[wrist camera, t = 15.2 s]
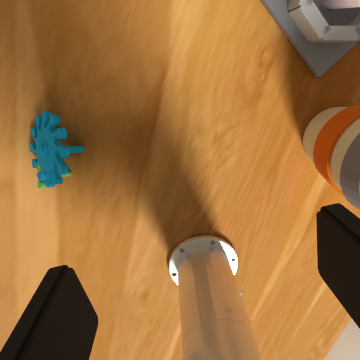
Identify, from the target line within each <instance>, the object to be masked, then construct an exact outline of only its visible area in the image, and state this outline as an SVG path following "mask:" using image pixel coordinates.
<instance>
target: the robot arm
mask: <svg viewBox="0 0 360 360" xmlns="http://www.w3.org/2000/svg"><path fill="white" fill-rule="evenodd" d="M317 253H318V270H319V273H320V275H321V277H322V279H323V280H324V281H325V283H326V284H327V285H328V287H329V288H330V289H331V291H332V292H333V293H334V295H335V296H336V297H337V299H338V300H339V301H340V303H341V304H342V305H343V307H344V308H345V310H346V311H347V312H348V314H349V315H350V316H351V318H352V319H353V320H354V322H355V323H356V324H357V325H358V327H359V328H360V219H359V218H358V217H357V216H355V215H354V214H353V213H352V212H350V211H349V210H348V209H346V208H345V207H344V206H343V205H341V204H339V203H336V204H332V205H328V206H323V207H321V209H320V211H319V212H317ZM237 268H238V258H237V255H236V253H235V250H234V249H233V247H232V246H231V245H230V244H229V243H228V242H227V241H225V240H223V239H222V238H219V237H216V236H211V235H200V236H195V237H192V238H189V239H187V240H185V241H183V242H182V243H180V244H179V245H178V246H177V247H176V248H175V249H174V250H173V252H172V254H171V256H170V259H169V273H170V276H171V278H172V279H173V281H174V282H175V283H176V284H177V285H178V286H179V302H180V319H181V336H182V353H183V360H262V358H261V355H260V352H259V349H258V346H257V343H256V340H255V337H254V334H253V331H252V328H251V325H250V322H249V319H248V316H247V313H246V310H245V306H244V303H243V300H242V297H241V295H242V293H243V291H242V289H240V288H239V287H238V285H237V282H236V279H235V276H234V275H235V274H236V271H237ZM97 327H98V317H97V314H96V312H95V310H94V308H93V306H92V304H91V302H90V300H89V299H88V297H87V295H86V293H85V291H84V289H83V287H82V285H81V283H80V281H79V279H78V277H77V275H76V273H75V271H74V270H73V268H69V267H68V266H67V265H62V266H58V267H53V268H50V269H49V270H48V271H47V273H46V275H45V276H44V278H43V280H42V282H41V283H40V285H39V287H38V288H37V290H36V292H35V294H34V295H33V297H32V299H31V300H30V302H29V304H28V306H27V307H26V309H25V311H24V312H23V314H22V316H21V318H20V319H19V321H18V323H17V325H16V326H15V328H14V330H13V331H12V333H11V335H10V337H9V338H8V340H7V342H6V343H5V345H4V347H3V349H2V350H1V352H0V360H89V357H90V353H91V350H92V346H93V342H94V338H95V334H96V331H97Z"/></svg>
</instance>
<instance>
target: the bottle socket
mask: <svg viewBox="0 0 360 360" xmlns="http://www.w3.org/2000/svg"><path fill="white" fill-rule="evenodd" d="M260 1H261V2H262V4H263V5H264V6H265V8H266V9H267V11H268V12H269V13H270V15H271V16H272V18H273V19H274V20H275V22H276V23H277V24H278V26H279V27H280V29H281V30H282V31H283V33H284V34H285V35H286V37H287V38H288V40H289V41H290V42H291V44H292V45H293V47H294V48H295V49H296V51H297V52H298V53H299V55H300V56H301V58H302V59H303V60H304V62H305V63H306V64H307V66H308V67H309V69H310V70H311V71H312V73H313V74H314V75H315V77H321V76H322V75H323V74H324V73H325V72H326V71H327V70H328V69H329V68H331V67H332V66H333V65H334V64H335V63H336V62H337V61H338V60H339V59H340V58H342V57H343V56H344V55H345V54H346V53H347V52H348V51H349V50H350V49H351V48H352V47H354V46H355V45H356V44H357V43H358V42H359V41H360V7H355V8H342V9H329V8H327V7H326V6H325V5H324V4H323V2H322V0H260Z"/></svg>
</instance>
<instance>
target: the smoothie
mask: <svg viewBox="0 0 360 360" xmlns="http://www.w3.org/2000/svg"><path fill="white" fill-rule="evenodd" d="M322 2H323V4H324V5H325V6H326V7H327V8H329V9H342V8H355V7H360V0H322Z"/></svg>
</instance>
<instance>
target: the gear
mask: <svg viewBox="0 0 360 360" xmlns="http://www.w3.org/2000/svg"><path fill="white" fill-rule="evenodd" d="M35 123H36V127H32V128H31V131H30V134H31V136H32V137H33V138H34V140H35V143H30V151H31V152H34V153H35V154H36V155H37V158H38V159H32V165H33V168H37V169H38V171H39V172H38V173H37V176H38V179H39V181H38V187H39V188H45V187H54V186H55V184H62V183H63V179H62V177H66V176H71V175H72V173H71V171H68V170H69V168H68V166H67V165H66V164H65V162H64V160H63V158H69V156H70V153H83V152H84V147H83V146H63V144H61V143H60V139H67V131H66V128H57V130H56V126H57V125H60V123H61V120H60V117H59V116H58V115H55V114H52V113H51V112H49V111H42V116H36V117H35Z"/></svg>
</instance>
